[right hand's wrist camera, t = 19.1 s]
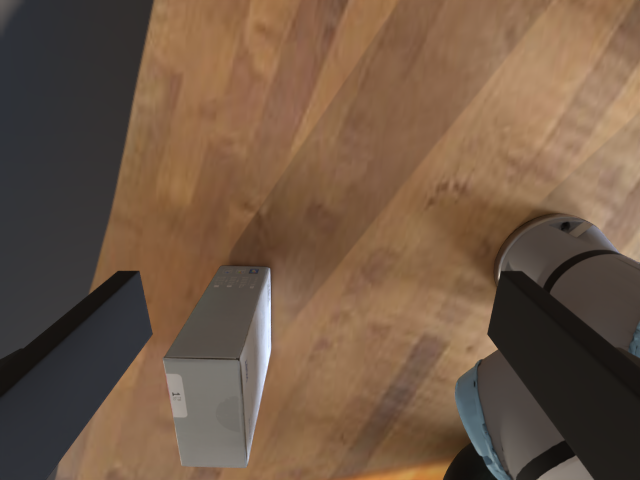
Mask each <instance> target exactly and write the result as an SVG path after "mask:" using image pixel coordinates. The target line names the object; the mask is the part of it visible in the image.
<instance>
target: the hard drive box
mask: <svg viewBox="0 0 640 480" xmlns="http://www.w3.org/2000/svg"><path fill="white" fill-rule="evenodd" d="M270 352H271V285H270V268H268V267H255V266H220V268H219V269H218V271H217V272H216V274H215V276H214V277H213V279H212V281H211V282H210V284H209V285H208V287H207V289H206V290H205V292H204V294H203V295H202V297H201V299H200V300H199V302H198V303H197V305H196V307H195V308H194V310H193V312H192V313H191V315H190V316H189V318H188V320H187V321H186V323H185V325H184V326H183V328H182V329H181V331H180V333H179V334H178V336H177V338H176V339H175V341H174V342H173V344H172V346H171V347H170V349H169V350H168V352H167V354H166V355H165V357H163V363H164V368H165V375H166V381H167V386H168V391H169V397H170V403H171V408H172V414H173V418H174V423H175V430H176V436H177V442H178V447H179V453H180V459H181V465H182V466H194V467H230V468H246V466H247V465H248V460H249V455H250V450H251V445H252V440H253V435H254V431H255V426H256V421H257V416H258V411H259V406H260V401H261V397H262V392H263V387H264V382H265V377H266V372H267V367H268V362H269V358H270Z"/></svg>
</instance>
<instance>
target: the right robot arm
mask: <svg viewBox="0 0 640 480" xmlns="http://www.w3.org/2000/svg"><path fill="white" fill-rule="evenodd" d="M494 279H495V283H496V285H497V291H496V295H495V300H494V305H493V310H492V314H491V319H490V324H489V329H488V333H487V334H488V336H489V337H490V338H491V340H492V341H493V343H494V344H495V345H496V347H497V348H498V350H497V351H495V352H494V353H492V354H491V355H489V356H488V357H486V358H485V359H481V360H479V361H478V362H477V363H476V364H475V366H474V367H473V368H471V369H470V370H469V371H468V372H466V373H465V374H464V375H462V376H461V377H460V378H459V379H458V381H457V383H456V387H455V400H456V405H457V408H458V412H459V415H460V417H461V420H462V423H463V425H464V427H465V429H466V432H467V434H468V436H469V438H470V440H471V442H472V444H473V445H474V447H475V449H476V451H477V452H478V454H479V455H480V456H482V457H483V459H484V462H485V464H486V466H487V467H488V469H489V470H490V471H491V473H492V474H493V475H494V476H495V477H496V478H497V479H498V480H640V263H639V262H637V261H635V260H633V259H631V258H628V257H626V256H624V255H622V254H620V253H619V252H618V251H617V249H616V248H615V247H614V246H613V245H612V243H611V242H610V241H609V240H608V239H607V238H606V236H605V235H604V234H603V233H602V232H601V231H600V230H599V229H598V228H597V227H596V226H595V225H593V224H591V223H590V222H588V221H585V220H583V219H581V218H578V217H576V216H572V215H567V214H551V215H546V216H542V217H539V218H536V219H533V220H531V221H529V222H527V223H526V224H524V225H522V226H521V227H519V228H518V229H517V230H516V231H514V232H513V233H512V234H511V235H510V236H509V237H508V238H507V240H506V241H505V242H504V244H503V245H502V247H501V248H500V250H499V252H498V254H497V257H496V260H495V265H494ZM152 334H153V333H152V329H151V324H150V319H149V314H148V310H147V305H146V300H145V295H144V291H143V286H142V281H141V277H140V272H139V271H117V272H116V273H115V274H114V275H113V276H111V277H110V278H109V279H108V280H106V281H105V282H104V283H103V284H102V285H100V286H99V287H98V288H97V289H95V290H94V291H93V292H92V293H91V294H89V295H88V296H87V297H86V298H85V299H83V300H82V301H81V302H80V303H78V304H77V305H76V306H75V307H74V308H72V309H71V310H70V311H69V312H67V313H66V314H65V315H64V316H63V317H61V318H60V319H59V320H58V321H56V322H55V323H54V324H53V325H52V326H50V327H49V328H48V329H47V330H45V331H44V332H43V333H42V334H41V335H39V336H38V337H37V338H36V339H35V340H33V341H32V342H31V343H30V344H28V345H27V346H26V347H25V348H24V349H19V350H17V351H15V352H13V353H12V354H10V355H8V356H6V357H4V358H2V359H0V480H46V479H47V478H48V476H49V475H50V474H51V472H52V471H53V470H54V468H55V467H56V465H57V464H58V463H59V461H60V460H61V459H62V457H63V456H64V455H65V453H66V452H67V450H68V449H69V448H70V446H71V445H72V444H73V442H74V441H75V440H76V438H77V437H78V435H79V434H80V433H81V431H82V430H83V429H84V427H85V426H86V424H87V423H88V422H89V420H90V419H91V418H92V416H93V415H94V414H95V412H96V411H97V409H98V408H99V407H100V405H101V404H102V403H103V401H104V400H105V399H106V397H107V396H108V394H109V393H110V392H111V390H112V389H113V388H114V386H115V385H116V384H117V382H118V381H119V379H120V378H121V377H122V375H123V374H124V373H125V371H126V370H127V368H128V367H129V366H130V364H131V363H132V362H133V360H134V359H135V358H136V356H137V355H138V353H139V352H140V351H141V349H142V348H143V347H144V345H145V344H146V343H147V341H148V340H149V338H150V337H151V336H152Z"/></svg>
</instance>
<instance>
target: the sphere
mask: <svg viewBox="0 0 640 480" xmlns="http://www.w3.org/2000/svg"><path fill="white" fill-rule="evenodd" d="M443 480H498V479H497V478H496V477H495V476H494V475H493V474H492V473H491V471H490V470H489V469H488V467H487V466H486V464H485V462H484V459H483V457H482V456H480V455H479V454H478V452H477V451H476V449H475V447H474V445H473V444H472V443H470V444H469V445H467V446H466V447H465V448H464V449H463V450H462V451H461V452H460V453H459V454H458V455H457V456H456V457H455V459H454V460H453V461H452V463H451V464H450V466H449V468H448V469H447V472H446V474H445V476H444V478H443Z"/></svg>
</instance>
